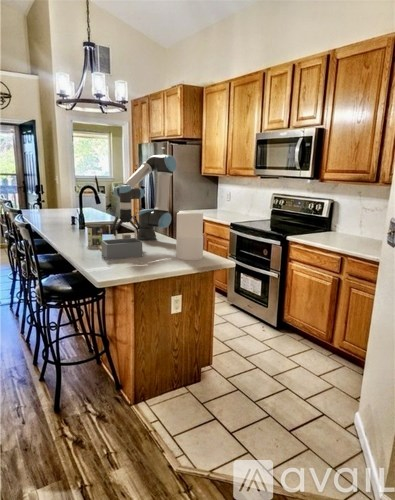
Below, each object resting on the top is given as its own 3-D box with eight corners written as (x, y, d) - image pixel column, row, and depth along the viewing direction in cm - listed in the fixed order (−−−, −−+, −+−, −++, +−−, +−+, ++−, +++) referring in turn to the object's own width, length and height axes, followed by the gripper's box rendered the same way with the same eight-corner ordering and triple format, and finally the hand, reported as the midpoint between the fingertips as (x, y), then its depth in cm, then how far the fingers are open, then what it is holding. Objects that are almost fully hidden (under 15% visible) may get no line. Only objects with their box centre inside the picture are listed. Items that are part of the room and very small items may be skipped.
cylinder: (172, 254, 233) (173, 211, 226) (196, 252, 239) (197, 211, 233) (181, 261, 217) (182, 215, 211) (207, 258, 224) (208, 214, 217)
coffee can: (105, 244, 256) (104, 224, 253) (98, 247, 246) (98, 227, 243) (92, 243, 258) (91, 223, 255) (85, 246, 248) (84, 226, 245)
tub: (135, 252, 234) (135, 237, 231) (142, 257, 222) (142, 242, 219) (101, 255, 223) (101, 240, 221) (107, 261, 211) (106, 244, 209)
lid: (130, 246, 252) (130, 232, 249) (136, 251, 239) (136, 235, 237) (98, 249, 241) (97, 234, 239) (103, 254, 229) (102, 238, 226)
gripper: (141, 207, 245) (141, 237, 250) (105, 208, 234) (106, 240, 239) (145, 208, 239) (145, 239, 244) (108, 209, 227) (109, 242, 232)
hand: (126, 239), depth 241 cm, fingers open, 13 cm apart
